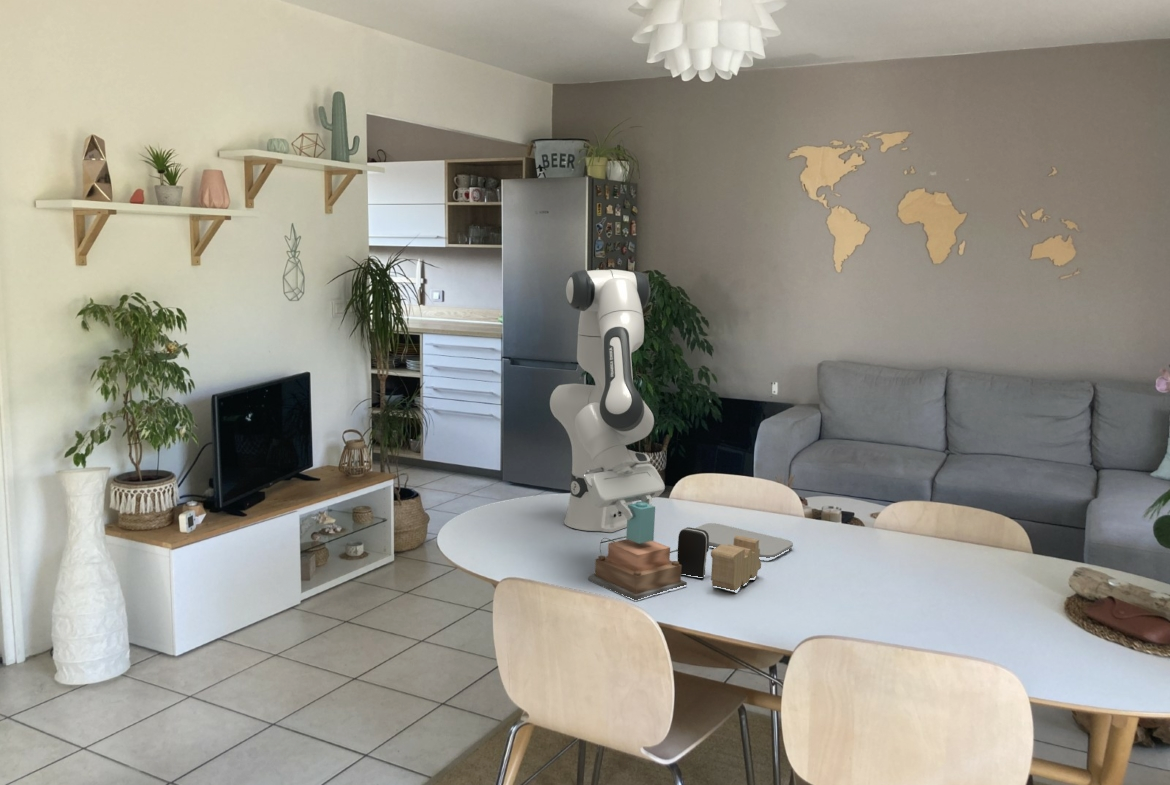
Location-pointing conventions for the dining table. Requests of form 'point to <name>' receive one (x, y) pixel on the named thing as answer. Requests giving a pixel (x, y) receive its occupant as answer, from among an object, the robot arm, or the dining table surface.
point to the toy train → (735, 563)
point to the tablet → (766, 543)
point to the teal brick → (641, 523)
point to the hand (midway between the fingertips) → (641, 516)
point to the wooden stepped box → (637, 569)
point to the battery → (693, 551)
